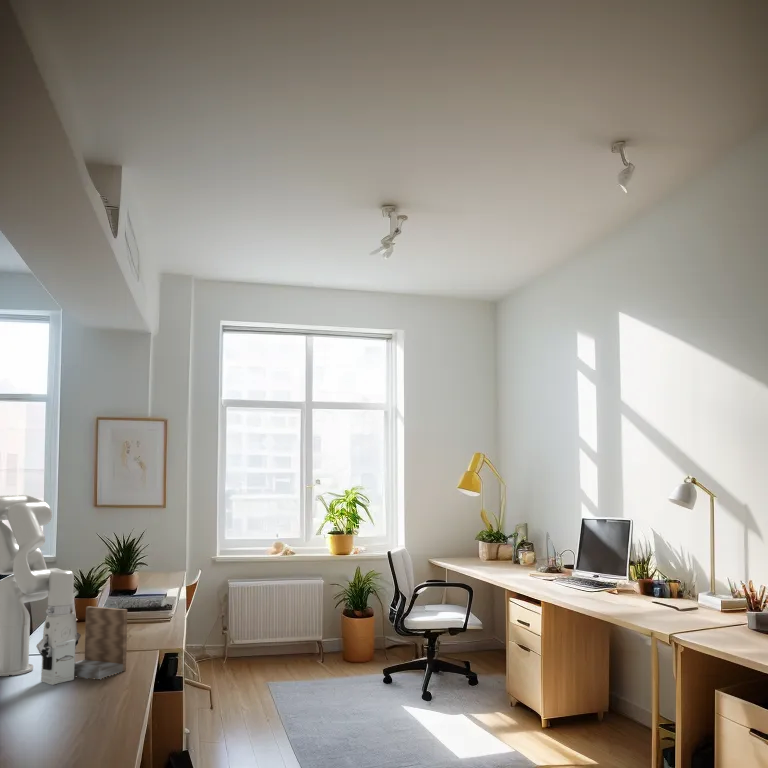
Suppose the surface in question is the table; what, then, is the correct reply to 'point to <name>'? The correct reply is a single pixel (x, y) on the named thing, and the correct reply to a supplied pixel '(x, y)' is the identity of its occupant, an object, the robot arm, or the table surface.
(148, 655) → the table surface
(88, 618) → the bookend
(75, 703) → the table surface
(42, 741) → the table surface
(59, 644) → the supplement box
